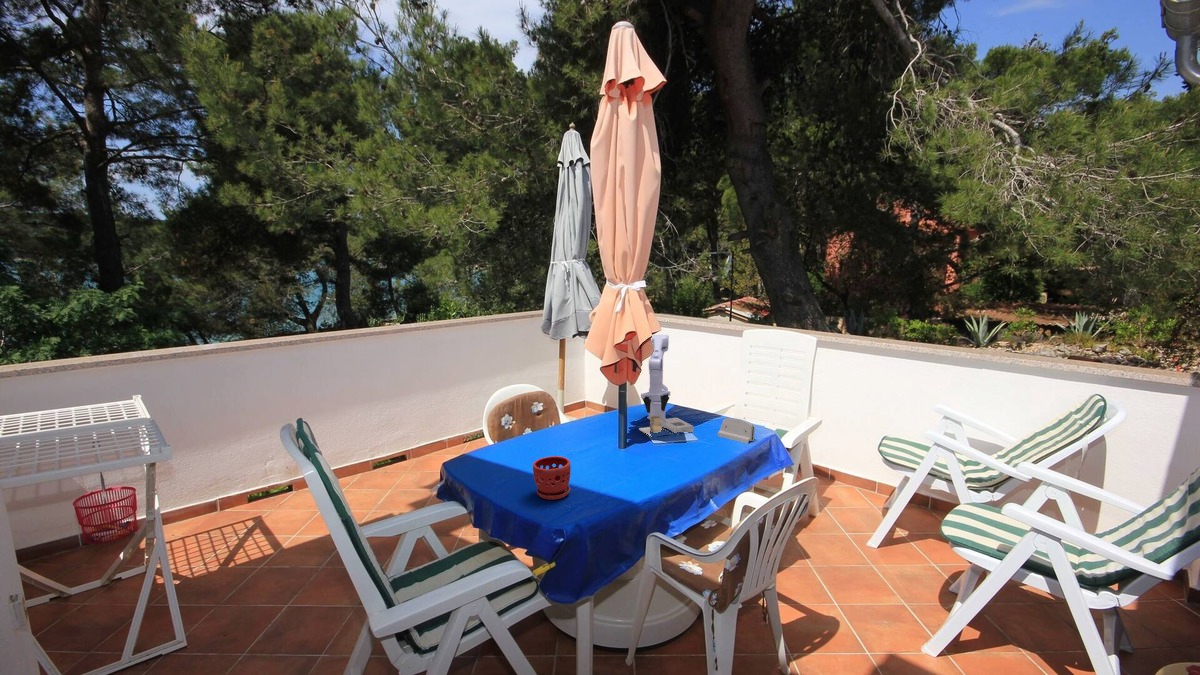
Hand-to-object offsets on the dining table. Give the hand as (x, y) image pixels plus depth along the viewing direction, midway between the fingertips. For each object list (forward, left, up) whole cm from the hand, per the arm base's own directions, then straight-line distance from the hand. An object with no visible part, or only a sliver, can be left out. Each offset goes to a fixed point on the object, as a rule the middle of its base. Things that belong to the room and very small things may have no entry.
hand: (655, 411), depth 261 cm
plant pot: (+49, -65, -11) cm, 82 cm away
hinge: (+21, +31, -11) cm, 39 cm away
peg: (0, 0, -10) cm, 10 cm away
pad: (-1, 0, -10) cm, 10 cm away
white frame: (-2, +12, -10) cm, 16 cm away
